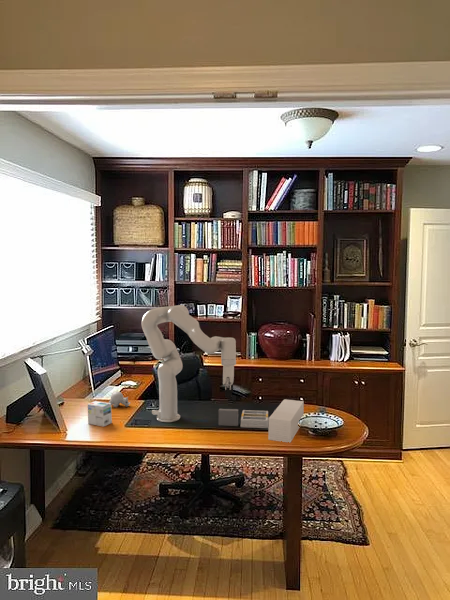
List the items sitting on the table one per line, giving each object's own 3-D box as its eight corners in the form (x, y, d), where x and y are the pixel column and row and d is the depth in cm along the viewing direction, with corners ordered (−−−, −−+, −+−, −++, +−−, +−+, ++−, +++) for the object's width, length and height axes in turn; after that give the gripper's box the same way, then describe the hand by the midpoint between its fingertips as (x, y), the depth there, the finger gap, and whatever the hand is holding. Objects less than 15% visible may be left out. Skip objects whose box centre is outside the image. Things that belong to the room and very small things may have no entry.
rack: (240, 427, 240) (240, 419, 240) (242, 416, 256) (242, 409, 256) (267, 428, 239) (268, 420, 239) (268, 417, 255) (268, 410, 254)
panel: (218, 425, 243) (218, 410, 243) (219, 423, 246) (219, 408, 245) (237, 426, 242) (237, 410, 242) (238, 424, 245) (238, 409, 244)
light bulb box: (112, 423, 247) (111, 402, 246) (103, 427, 241) (103, 406, 240) (96, 420, 251) (95, 400, 250) (87, 424, 245) (87, 403, 244)
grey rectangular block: (290, 443, 220) (290, 420, 219) (268, 440, 224) (268, 418, 223) (303, 421, 250) (303, 401, 249) (283, 418, 254) (284, 399, 253)
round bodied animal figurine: (125, 413, 270) (130, 399, 269) (106, 404, 271) (111, 391, 270) (129, 408, 278) (134, 396, 276) (110, 400, 278) (115, 387, 277)
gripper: (223, 358, 250) (223, 389, 251) (219, 365, 233) (220, 399, 234) (237, 358, 249) (237, 390, 251) (234, 365, 232) (235, 399, 233)
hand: (229, 394), depth 242 cm, fingers open, 9 cm apart
